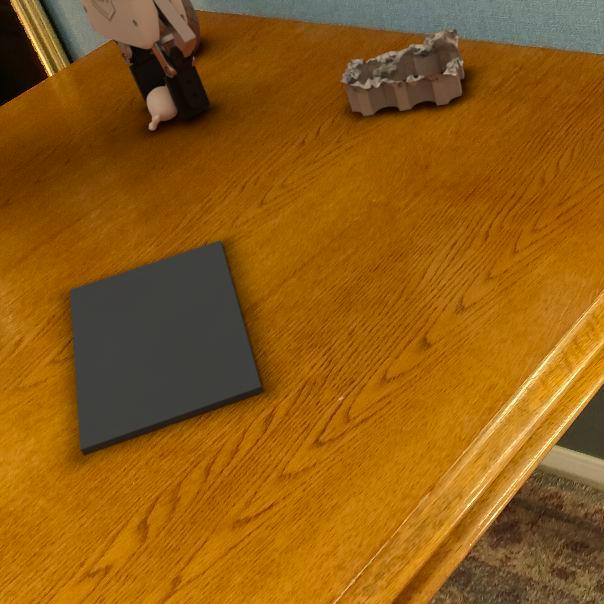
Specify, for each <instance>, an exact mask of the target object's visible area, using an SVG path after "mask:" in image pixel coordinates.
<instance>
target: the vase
mask: <svg viewBox="0 0 604 604" xmlns="http://www.w3.org/2000/svg"><path fill="white" fill-rule="evenodd" d="M181 1H182V4H183V7H184V10H185V13H186V16H187V21H188V24H187V25H188V26H189V27H190V29H191V30H192V31H193V33H194V34H195V36H196V38H197V42H196V45H195V48H194V54H195V53H196V52H197V51H198V49H199V47H200V43H201V26H200V21H199V17H198V14H197V12H196V9H195V7H194V5H193V3H192V2H191V0H181ZM167 33H169V30H168V29H167V28H166V27H163V28H161V29H159V34H160V36H159V37H161V36H163V35H165V34H167ZM174 45H175V44H174V42H173V40H172V41H170V42H168V43H166V44H164V45H163V48H164V49H165V51H166V53H167V55H168V56H169V55H170V49H171V48H172V47H174ZM153 53H154V52H152V53H151V54H153Z"/></svg>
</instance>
